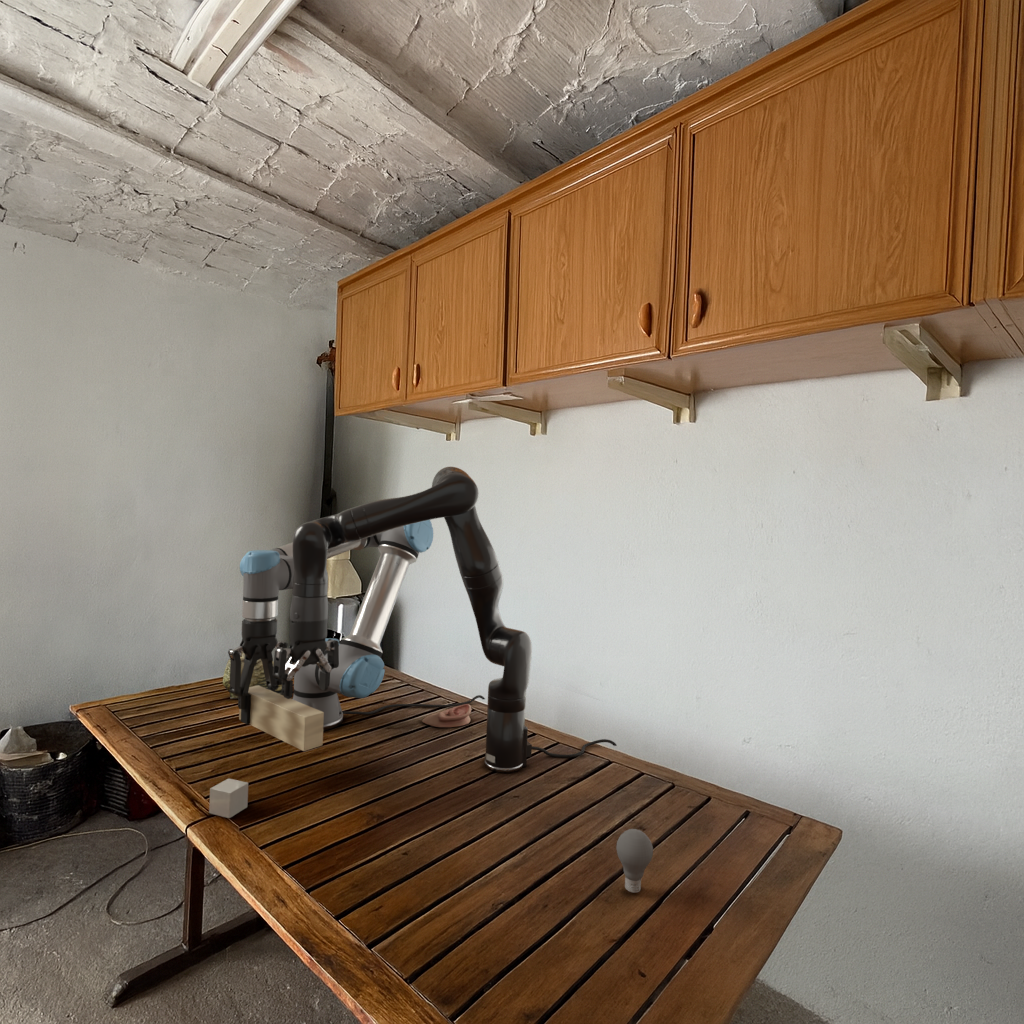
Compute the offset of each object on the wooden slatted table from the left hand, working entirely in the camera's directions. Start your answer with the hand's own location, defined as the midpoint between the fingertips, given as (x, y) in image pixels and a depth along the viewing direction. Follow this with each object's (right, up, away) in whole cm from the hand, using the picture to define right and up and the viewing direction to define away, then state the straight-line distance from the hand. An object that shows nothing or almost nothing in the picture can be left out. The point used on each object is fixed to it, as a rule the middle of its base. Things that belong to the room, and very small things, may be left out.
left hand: (256, 719), depth 145 cm
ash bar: (+7, -1, -6) cm, 10 cm away
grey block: (+2, -12, -18) cm, 22 cm away
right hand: (+15, +10, -12) cm, 22 cm away
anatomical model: (+40, -13, +37) cm, 56 cm away
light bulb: (+79, -16, -39) cm, 89 cm away
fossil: (-22, -10, +53) cm, 58 cm away
